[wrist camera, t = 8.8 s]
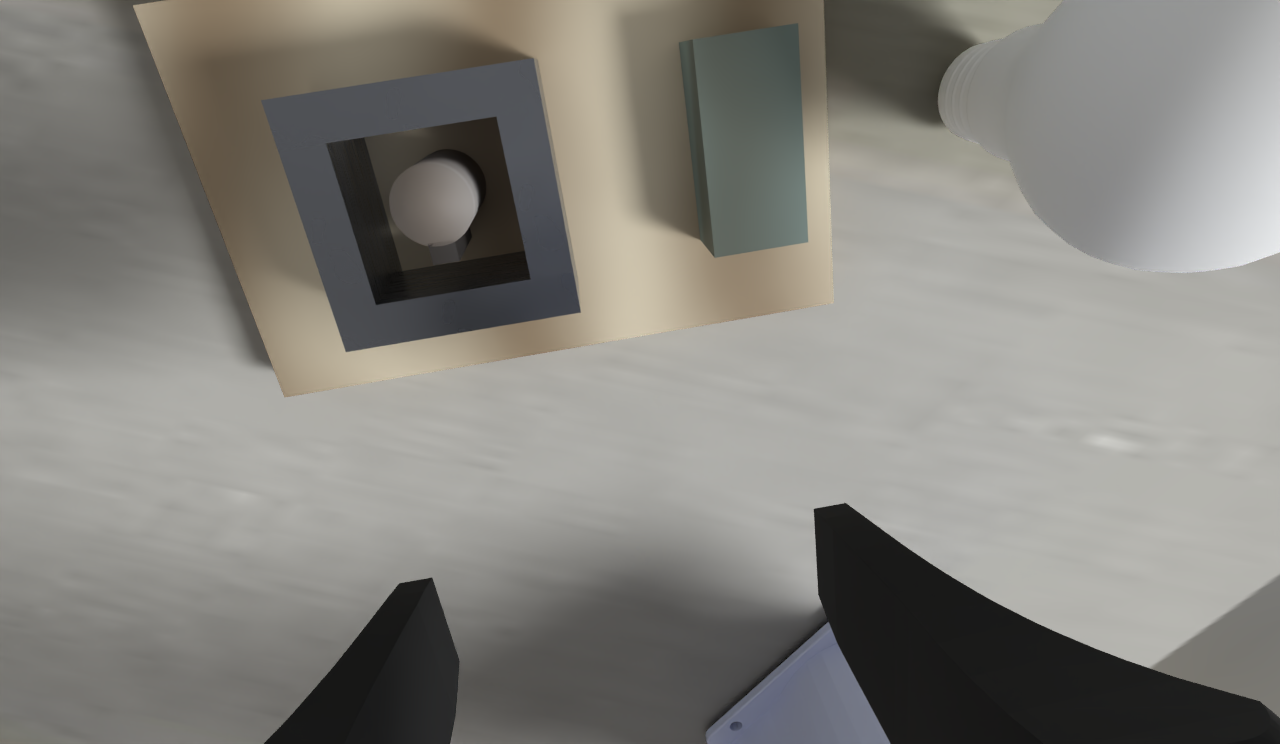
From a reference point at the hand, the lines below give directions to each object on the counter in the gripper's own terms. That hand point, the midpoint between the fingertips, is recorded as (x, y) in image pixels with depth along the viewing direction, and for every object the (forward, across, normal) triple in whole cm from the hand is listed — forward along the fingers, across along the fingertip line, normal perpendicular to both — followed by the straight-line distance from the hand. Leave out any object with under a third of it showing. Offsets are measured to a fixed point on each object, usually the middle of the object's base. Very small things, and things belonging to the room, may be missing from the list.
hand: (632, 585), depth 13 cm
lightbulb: (+10, -12, -7) cm, 17 cm away
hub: (+8, +3, -6) cm, 11 cm away
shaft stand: (+10, +1, -7) cm, 12 cm away
